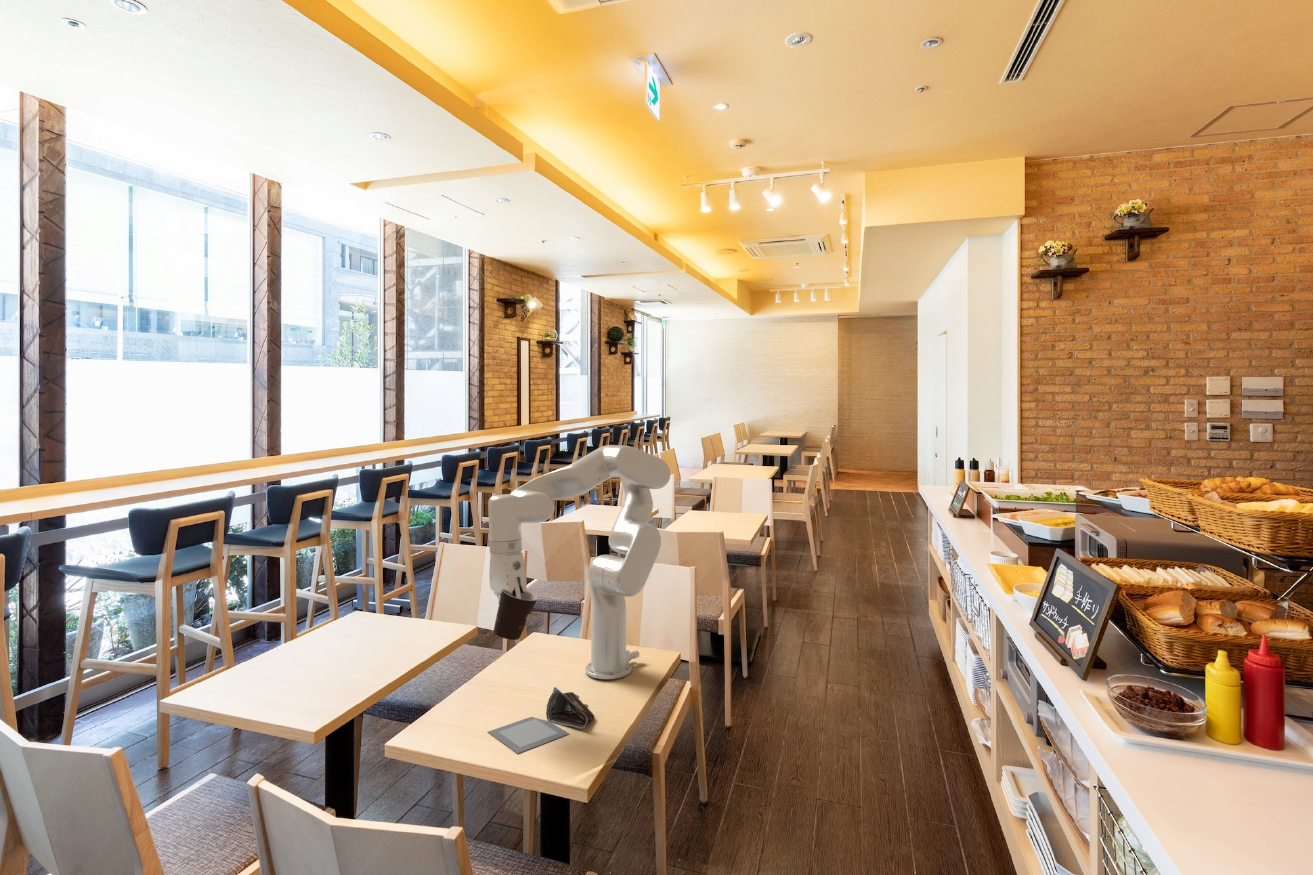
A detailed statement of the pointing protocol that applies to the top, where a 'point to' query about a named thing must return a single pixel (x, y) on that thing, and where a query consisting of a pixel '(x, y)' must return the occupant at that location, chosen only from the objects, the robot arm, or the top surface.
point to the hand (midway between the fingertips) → (507, 622)
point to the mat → (527, 734)
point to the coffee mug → (513, 614)
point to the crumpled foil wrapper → (567, 702)
